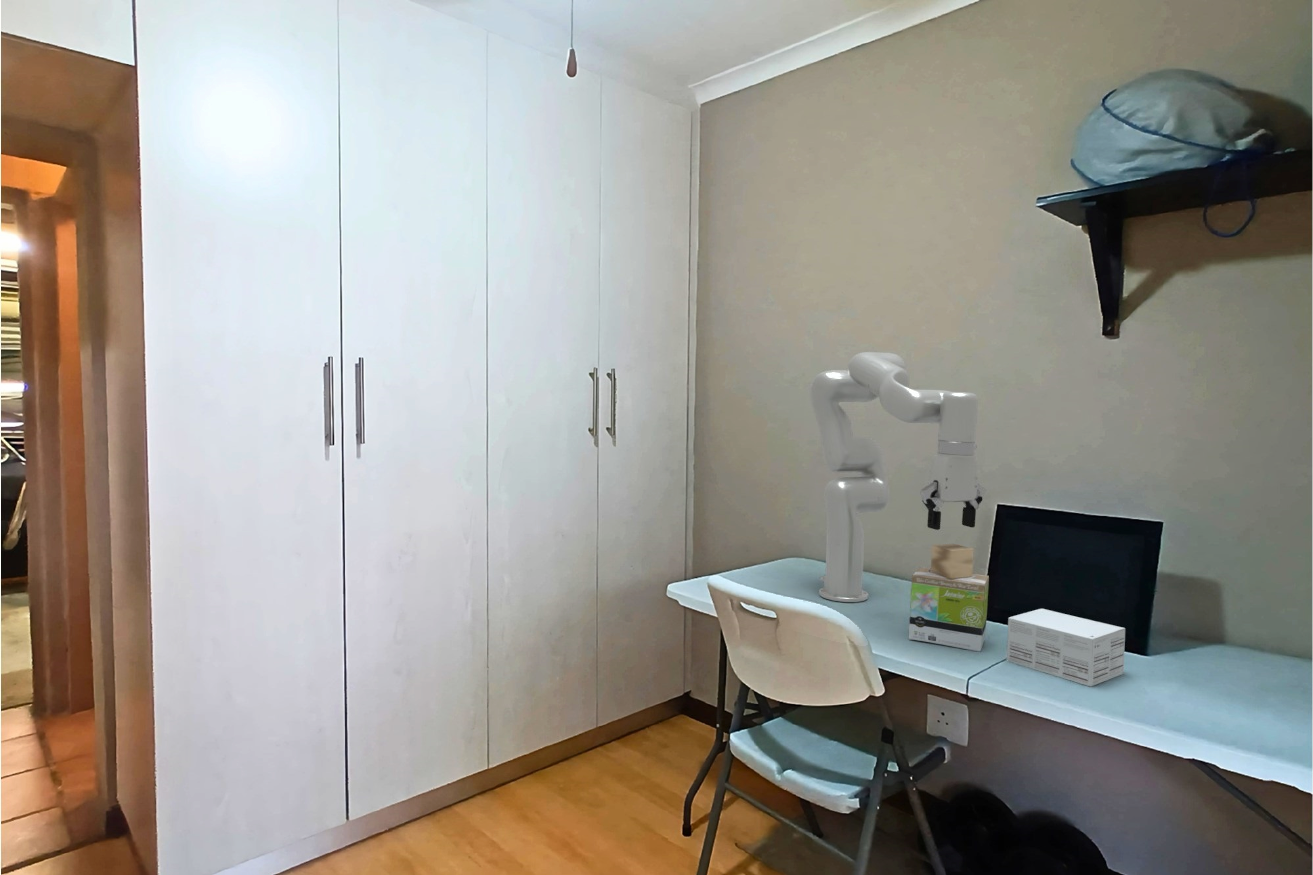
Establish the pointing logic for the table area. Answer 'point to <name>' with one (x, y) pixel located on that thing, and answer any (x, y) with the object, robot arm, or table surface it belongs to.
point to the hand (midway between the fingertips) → (951, 527)
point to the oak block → (952, 561)
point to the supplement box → (1066, 646)
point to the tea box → (948, 609)
